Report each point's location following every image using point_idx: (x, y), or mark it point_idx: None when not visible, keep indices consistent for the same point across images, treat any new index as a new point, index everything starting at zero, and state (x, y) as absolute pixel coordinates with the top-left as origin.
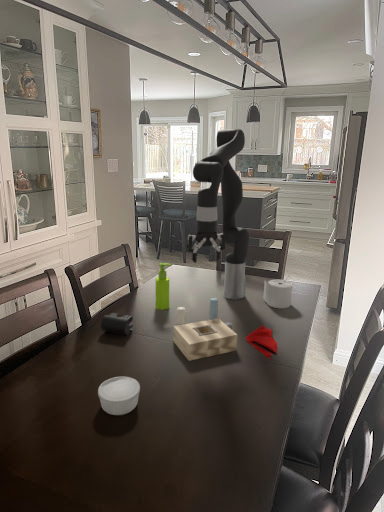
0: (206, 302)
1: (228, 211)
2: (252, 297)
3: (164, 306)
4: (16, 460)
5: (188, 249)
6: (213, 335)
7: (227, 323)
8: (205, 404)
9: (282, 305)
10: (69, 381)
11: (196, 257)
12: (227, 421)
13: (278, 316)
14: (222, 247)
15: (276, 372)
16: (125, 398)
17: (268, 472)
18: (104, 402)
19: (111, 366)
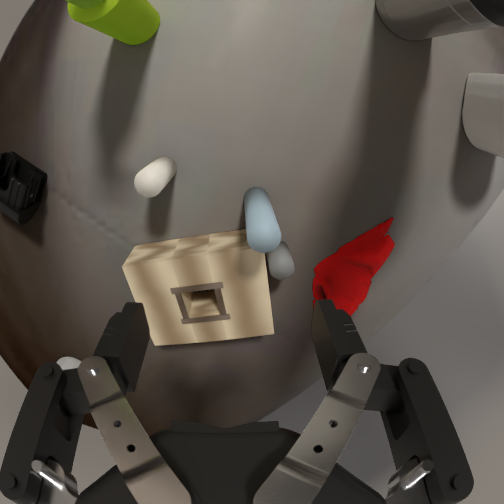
0: (302, 15)
1: None
2: (448, 48)
3: (135, 42)
4: None
5: (61, 413)
6: (216, 328)
7: (282, 264)
8: (175, 395)
9: (481, 149)
10: (10, 316)
11: (141, 365)
12: (195, 414)
13: (448, 183)
14: (385, 414)
15: (302, 368)
16: None
17: None
18: None
19: (41, 300)
